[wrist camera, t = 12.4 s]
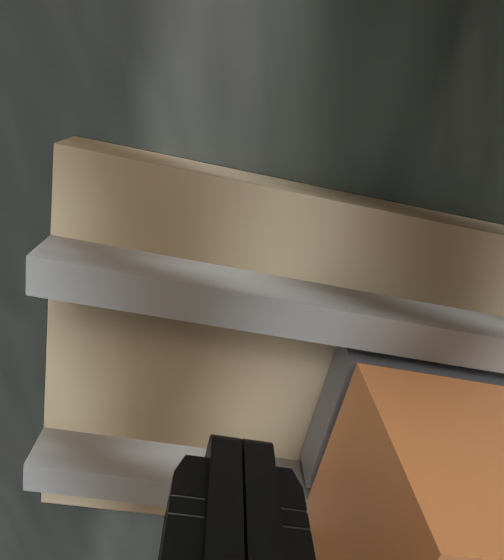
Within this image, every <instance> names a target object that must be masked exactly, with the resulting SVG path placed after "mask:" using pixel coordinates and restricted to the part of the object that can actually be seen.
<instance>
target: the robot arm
mask: <svg viewBox="0 0 504 560" xmlns="http://www.w3.org/2000/svg"><path fill="white" fill-rule="evenodd" d="M158 560H316V558H315V552H314V547H313V541H312V535H311V532H310V524H309V518H308V513H307V506H306V501H305V495H304V489H303V487H302V485H301V483H300V482H299V480H298V478H297V477H296V475H295V473H294V472H293V470H292V469H291V468H284V467H276V462H275V453H274V446H273V443H272V442H265V441H258V440H251V439H243V438H242V439H241V438H235V437H228V436H221V435H214V434H211V435H210V437H209V441H208V445H207V449H206V454H205V457H200V456H193V455H185V456H184V457H183V459H182V460H181V462H180V463H179V465H178V466H177V468H176V469H175V470H174V473H173V478H172V483H171V488H170V493H169V498H168V503H167V507H166V512H165V517H164V524H163V530H162V537H161V544H160V550H159V557H158Z"/></svg>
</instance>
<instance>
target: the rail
mask: <svg viewBox="0 0 504 560" xmlns="http://www.w3.org/2000/svg"><path fill="white" fill-rule="evenodd" d="M26 295H28V296H34V297H40V298H46V299H48V322H47V350H46V379H45V407H44V428H43V430H42V431H41V433H40V435H39V437H38V439H37V441H36V443H35V444H34V446H33V448H32V450H31V452H30V454H29V456H28V457H27V459H26V461H25V463H24V465H23V490H24V491H33V492H41V502H47V503H56V504H65V505H74V506H83V507H92V508H101V509H110V510H119V511H128V512H137V513H146V514H155V515H164V516H165V512H166V507H167V503H168V498H169V493H170V488H171V483H172V478H173V473H174V470H175V469H176V468H177V466H178V465H179V463H180V462H181V460H182V459H183V457H184V456H185V455H193V456H200V457H205V454H206V449H207V445H208V441H209V437H210V435H211V434H214V435H221V436H228V437H235V438H241V439H242V438H243V439H251V440H258V441H265V442H272V443H273V446H274V453H275V462H276V467H284V468H291V469H292V470H293V472H294V473H295V475H296V477H297V478H298V480H299V482H300V483H301V485H302V487H303V489H304V495H305V501H306V502H307V499H308V496H309V494H310V491H311V488H306V484H305V478H304V473H303V467H302V462H301V456H300V454H301V451H302V448H303V445H304V442H305V439H306V436H307V433H308V430H309V427H310V424H311V421H312V418H313V415H314V412H315V409H316V406H317V404H318V401H319V398H320V395H321V392H322V389H323V386H324V383H325V380H326V377H327V374H328V371H329V368H330V365H331V362H332V359H333V356H334V353H335V350H336V347H337V346H339V347H345V348H351V349H357V350H363V351H369V352H375V353H381V354H387V355H393V356H400V357H406V358H412V359H418V360H424V361H430V362H436V363H442V364H448V365H454V366H461V367H467V368H473V369H479V370H485V371H491V372H497V373H503V374H504V225H501V224H496V223H492V222H487V221H482V220H477V219H472V218H468V217H463V216H458V215H453V214H448V213H443V212H439V211H434V210H429V209H424V208H419V207H415V206H410V205H405V204H400V203H395V202H390V201H386V200H381V199H376V198H371V197H366V196H362V195H357V194H352V193H347V192H342V191H338V190H333V189H328V188H323V187H318V186H313V185H309V184H304V183H299V182H294V181H289V180H285V179H280V178H275V177H270V176H265V175H261V174H256V173H251V172H246V171H241V170H236V169H232V168H227V167H222V166H217V165H212V164H208V163H203V162H198V161H193V160H188V159H183V158H179V157H174V156H169V155H164V154H159V153H155V152H150V151H145V150H140V149H135V148H131V147H126V146H121V145H116V144H111V143H106V142H102V141H97V140H92V139H87V138H82V137H78V136H72V137H70V138H67V139H64V140H61V141H59V142H56V143H54V153H53V181H52V210H51V235H50V236H49V237H47V238H46V239H45V240H44V241H43V242H42V243H40V244H39V245H38V246H37V247H36V248H35V249H34V250H32V251H31V252H30V253H29V254H28V255H27V256H26ZM306 506H307V504H306ZM307 513H308V510H307ZM308 518H309V516H308ZM309 524H310V521H309ZM310 532H311V527H310Z"/></svg>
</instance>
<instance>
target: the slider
mask: <svg viewBox="0 0 504 560" xmlns="http://www.w3.org/2000/svg"><path fill="white" fill-rule="evenodd" d="M300 456H301V462H302V467H303V473H304V478H305V484H306V488H311V491H310V494H309V496H308V499H307V502H306V504H307V510H308V516H309V521H310V527H311V533H312V539H313V544H314V550H315V556H316V560H504V374H503V373H497V372H491V371H485V370H479V369H473V368H467V367H461V366H454V365H448V364H442V363H436V362H430V361H424V360H418V359H412V358H406V357H400V356H393V355H387V354H381V353H375V352H369V351H363V350H357V349H351V348H345V347H339V346H337V347H336V350H335V353H334V356H333V359H332V362H331V365H330V368H329V371H328V374H327V377H326V380H325V383H324V386H323V389H322V392H321V395H320V398H319V401H318V404H317V406H316V409H315V412H314V415H313V418H312V421H311V424H310V427H309V430H308V433H307V436H306V439H305V442H304V445H303V448H302V451H301V454H300Z"/></svg>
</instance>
